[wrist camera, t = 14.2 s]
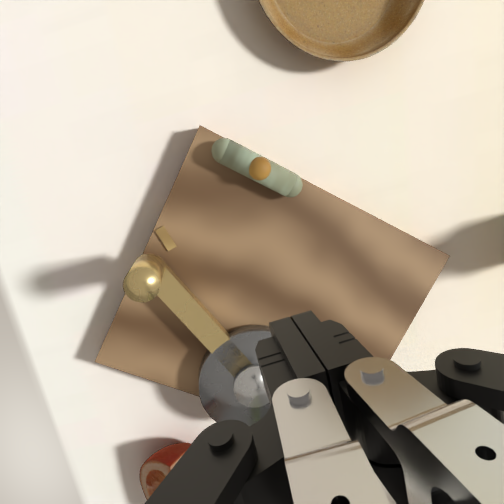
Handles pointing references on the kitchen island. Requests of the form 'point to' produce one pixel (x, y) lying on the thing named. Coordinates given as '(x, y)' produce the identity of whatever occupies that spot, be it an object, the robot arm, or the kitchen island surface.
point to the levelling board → (267, 263)
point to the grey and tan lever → (208, 344)
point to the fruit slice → (160, 466)
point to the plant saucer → (341, 25)
